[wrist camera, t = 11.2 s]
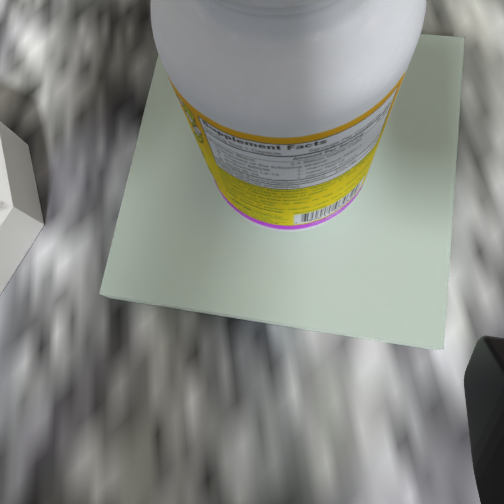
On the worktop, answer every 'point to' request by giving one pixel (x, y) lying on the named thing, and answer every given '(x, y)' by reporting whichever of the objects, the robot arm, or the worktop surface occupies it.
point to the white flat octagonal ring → (16, 203)
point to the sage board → (309, 241)
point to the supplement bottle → (287, 96)
